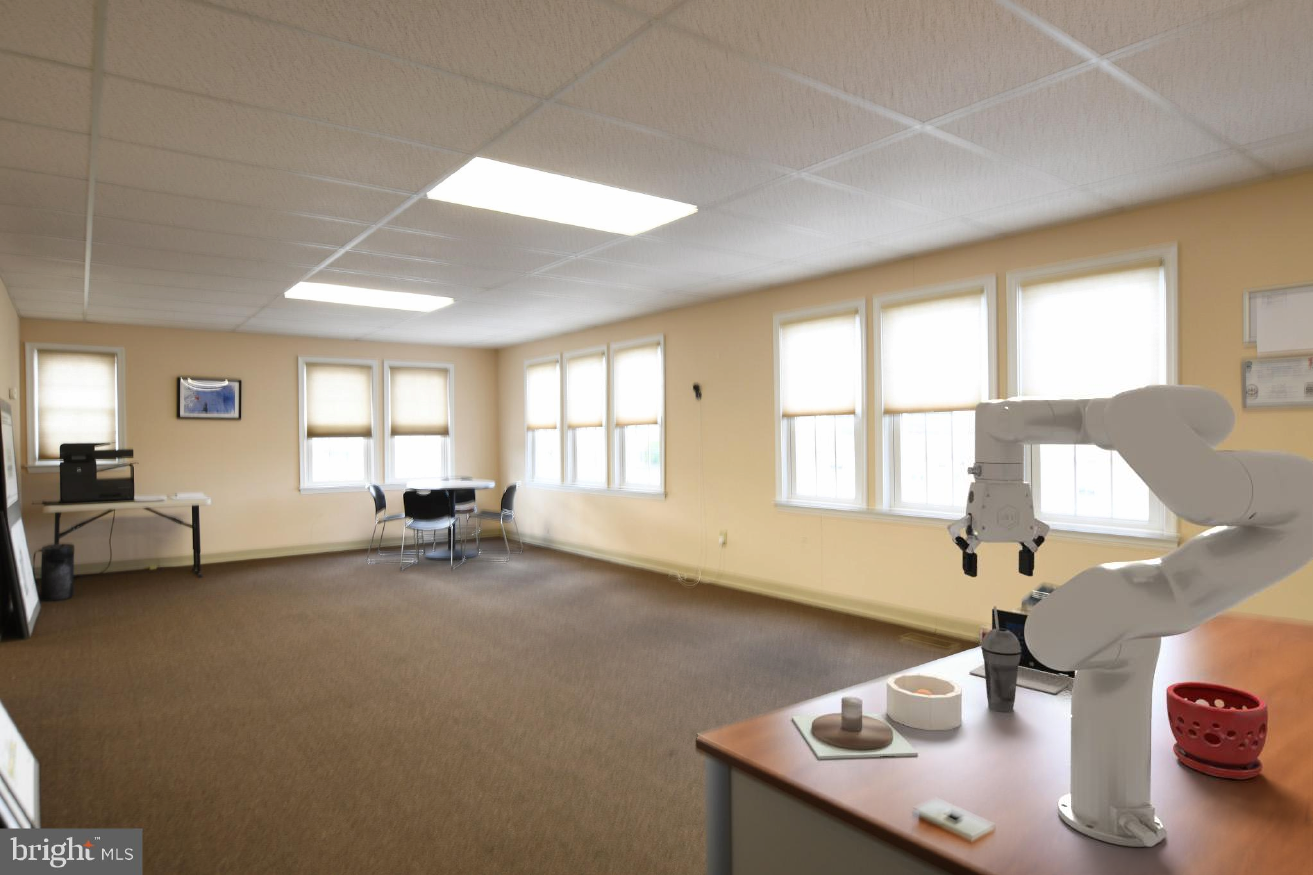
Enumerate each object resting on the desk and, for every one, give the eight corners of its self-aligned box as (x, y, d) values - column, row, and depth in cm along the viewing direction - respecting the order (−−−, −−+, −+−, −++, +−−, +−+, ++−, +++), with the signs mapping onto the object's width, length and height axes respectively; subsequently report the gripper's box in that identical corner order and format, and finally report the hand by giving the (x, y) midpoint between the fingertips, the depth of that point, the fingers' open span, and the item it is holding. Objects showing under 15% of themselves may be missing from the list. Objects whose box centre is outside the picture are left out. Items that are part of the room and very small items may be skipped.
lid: (906, 749, 125) (906, 714, 125) (825, 751, 124) (825, 716, 124) (875, 717, 139) (875, 685, 139) (802, 719, 138) (802, 687, 138)
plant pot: (1169, 743, 129) (1170, 674, 129) (1266, 764, 121) (1267, 692, 121) (1161, 769, 119) (1162, 695, 119) (1267, 795, 111) (1268, 715, 111)
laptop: (968, 675, 166) (968, 617, 165) (991, 663, 174) (992, 608, 174) (1055, 696, 153) (1055, 633, 152) (1075, 682, 161) (1076, 622, 161)
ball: (938, 714, 139) (938, 693, 139) (918, 715, 139) (918, 694, 139) (929, 706, 143) (929, 686, 143) (909, 707, 143) (909, 686, 143)
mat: (917, 755, 124) (917, 752, 124) (818, 758, 123) (818, 755, 123) (879, 716, 141) (879, 713, 141) (792, 718, 140) (792, 716, 140)
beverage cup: (1026, 716, 141) (1026, 612, 141) (985, 713, 143) (986, 610, 142) (1015, 702, 148) (1016, 603, 148) (976, 699, 150) (977, 601, 149)
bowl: (974, 729, 135) (974, 696, 135) (904, 731, 134) (904, 698, 134) (941, 702, 148) (941, 672, 148) (877, 704, 147) (877, 674, 147)
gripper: (960, 475, 120) (959, 580, 120) (1062, 474, 121) (1061, 579, 121) (938, 472, 127) (938, 571, 127) (1035, 472, 128) (1034, 570, 129)
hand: (998, 575), depth 124 cm, fingers open, 9 cm apart
